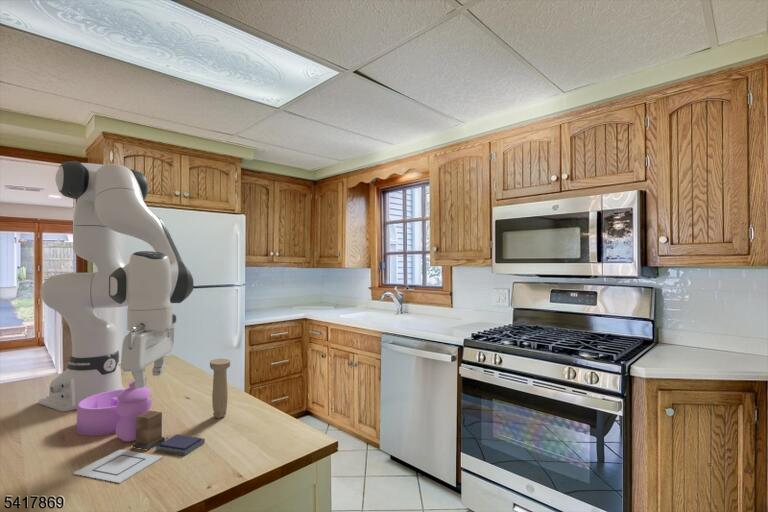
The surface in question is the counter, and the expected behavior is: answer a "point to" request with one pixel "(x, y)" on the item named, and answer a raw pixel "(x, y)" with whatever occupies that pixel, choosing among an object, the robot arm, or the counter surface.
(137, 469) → the card
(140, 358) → the robot arm
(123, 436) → the container set
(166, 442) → the ink tin
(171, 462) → the counter surface
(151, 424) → the stamp
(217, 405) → the handle
